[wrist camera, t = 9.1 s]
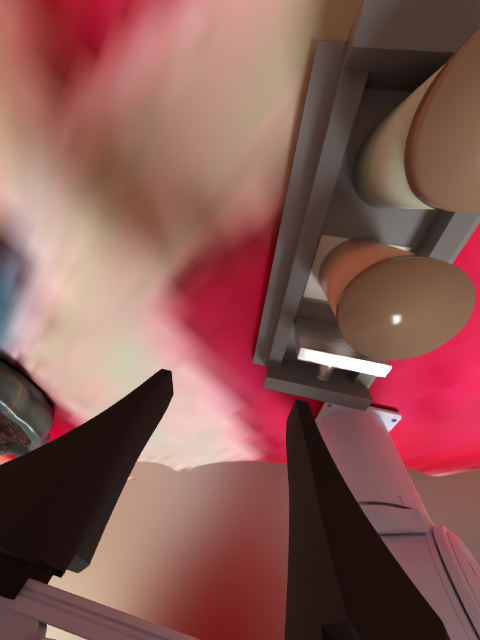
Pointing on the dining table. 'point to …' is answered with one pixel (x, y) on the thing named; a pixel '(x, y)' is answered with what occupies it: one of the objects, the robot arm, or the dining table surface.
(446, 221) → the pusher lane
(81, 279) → the dining table surface
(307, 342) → the plate
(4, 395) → the bonsai tree
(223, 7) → the dining table surface
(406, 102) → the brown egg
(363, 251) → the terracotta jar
